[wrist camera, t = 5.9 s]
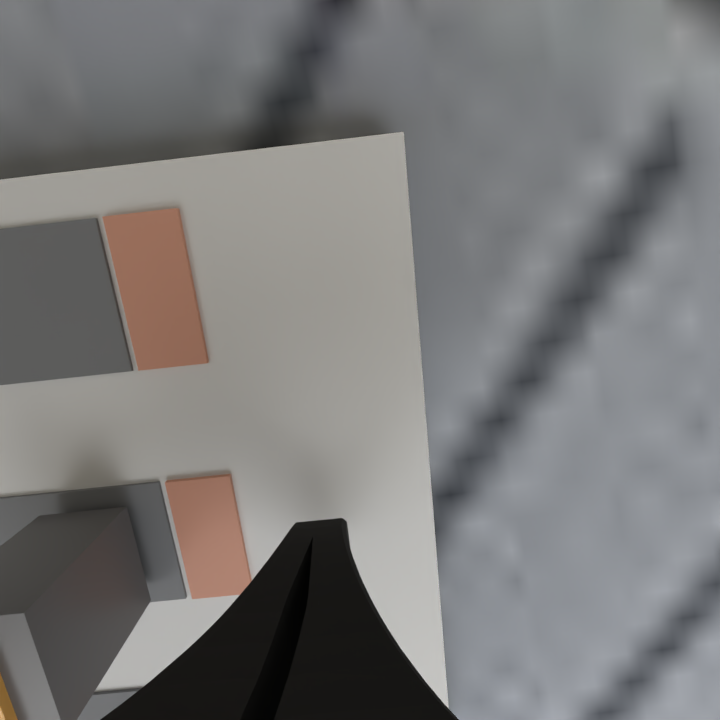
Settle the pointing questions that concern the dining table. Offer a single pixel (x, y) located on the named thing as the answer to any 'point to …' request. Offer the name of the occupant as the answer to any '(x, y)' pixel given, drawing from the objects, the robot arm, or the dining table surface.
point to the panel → (222, 378)
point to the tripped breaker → (65, 610)
